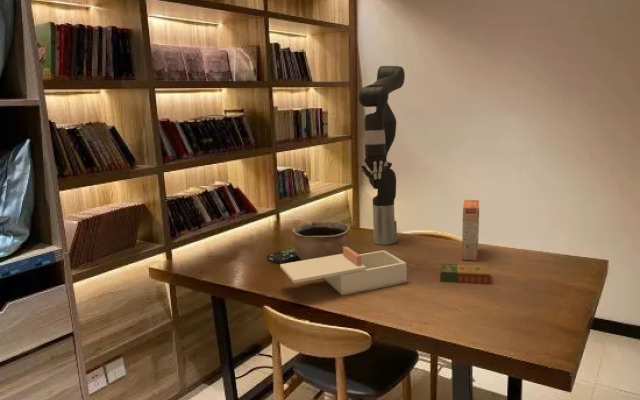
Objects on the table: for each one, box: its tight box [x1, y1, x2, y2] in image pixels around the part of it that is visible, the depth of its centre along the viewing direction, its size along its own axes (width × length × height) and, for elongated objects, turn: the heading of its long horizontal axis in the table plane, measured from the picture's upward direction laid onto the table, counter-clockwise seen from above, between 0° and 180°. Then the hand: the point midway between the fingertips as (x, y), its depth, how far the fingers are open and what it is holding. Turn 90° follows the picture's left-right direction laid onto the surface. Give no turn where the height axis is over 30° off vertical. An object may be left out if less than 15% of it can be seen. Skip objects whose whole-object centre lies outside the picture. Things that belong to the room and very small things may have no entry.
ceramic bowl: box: [292, 220, 351, 261], centre depth 182 cm, size 22×22×15 cm
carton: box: [439, 263, 491, 285], centre depth 162 cm, size 8×16×4 cm, turn 73°
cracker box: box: [461, 199, 480, 262], centre depth 183 cm, size 14×6×21 cm, turn 161°
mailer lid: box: [279, 246, 366, 284], centre depth 158 cm, size 25×16×4 cm, turn 110°
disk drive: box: [266, 247, 301, 266], centre depth 193 cm, size 10×3×15 cm
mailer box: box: [324, 249, 408, 296], centre depth 164 cm, size 24×16×7 cm, turn 110°
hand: (376, 188), depth 177 cm, fingers closed
